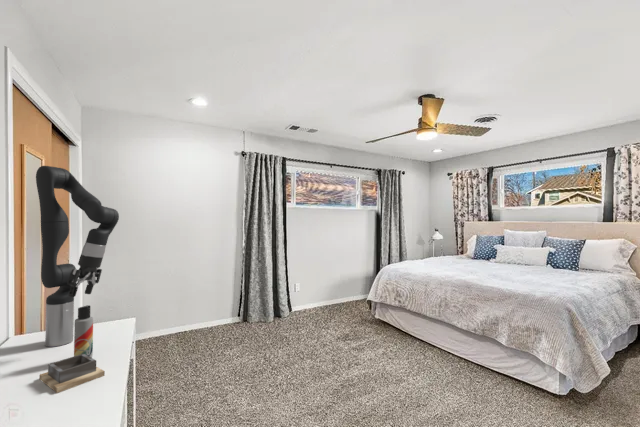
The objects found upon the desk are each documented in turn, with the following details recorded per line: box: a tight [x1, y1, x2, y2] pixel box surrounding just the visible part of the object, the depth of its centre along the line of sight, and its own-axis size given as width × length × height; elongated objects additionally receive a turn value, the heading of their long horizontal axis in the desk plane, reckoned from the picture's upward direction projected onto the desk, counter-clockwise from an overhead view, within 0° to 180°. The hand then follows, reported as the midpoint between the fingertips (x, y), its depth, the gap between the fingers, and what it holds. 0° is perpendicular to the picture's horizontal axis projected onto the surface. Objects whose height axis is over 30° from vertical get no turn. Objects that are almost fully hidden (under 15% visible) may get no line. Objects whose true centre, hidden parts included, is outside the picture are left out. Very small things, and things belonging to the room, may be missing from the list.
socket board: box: [38, 354, 105, 394], centre depth 107 cm, size 15×13×5 cm
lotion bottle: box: [73, 305, 94, 358], centre depth 121 cm, size 6×6×20 cm
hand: (79, 295), depth 126 cm, fingers open, 8 cm apart
